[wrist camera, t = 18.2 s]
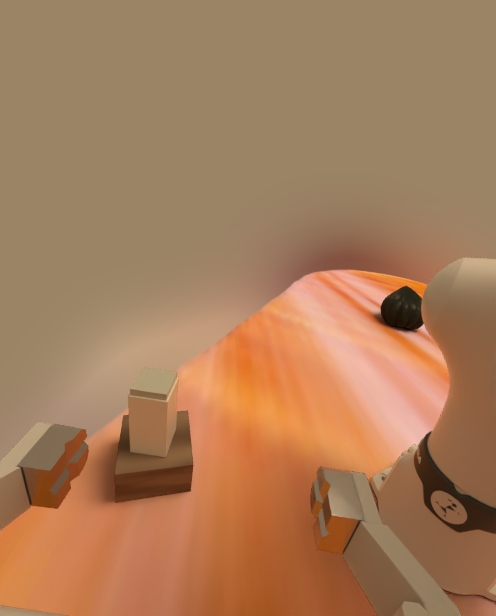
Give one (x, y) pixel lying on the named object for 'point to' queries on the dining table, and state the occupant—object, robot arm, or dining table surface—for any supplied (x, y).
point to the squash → (403, 309)
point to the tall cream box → (153, 411)
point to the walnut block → (154, 466)
